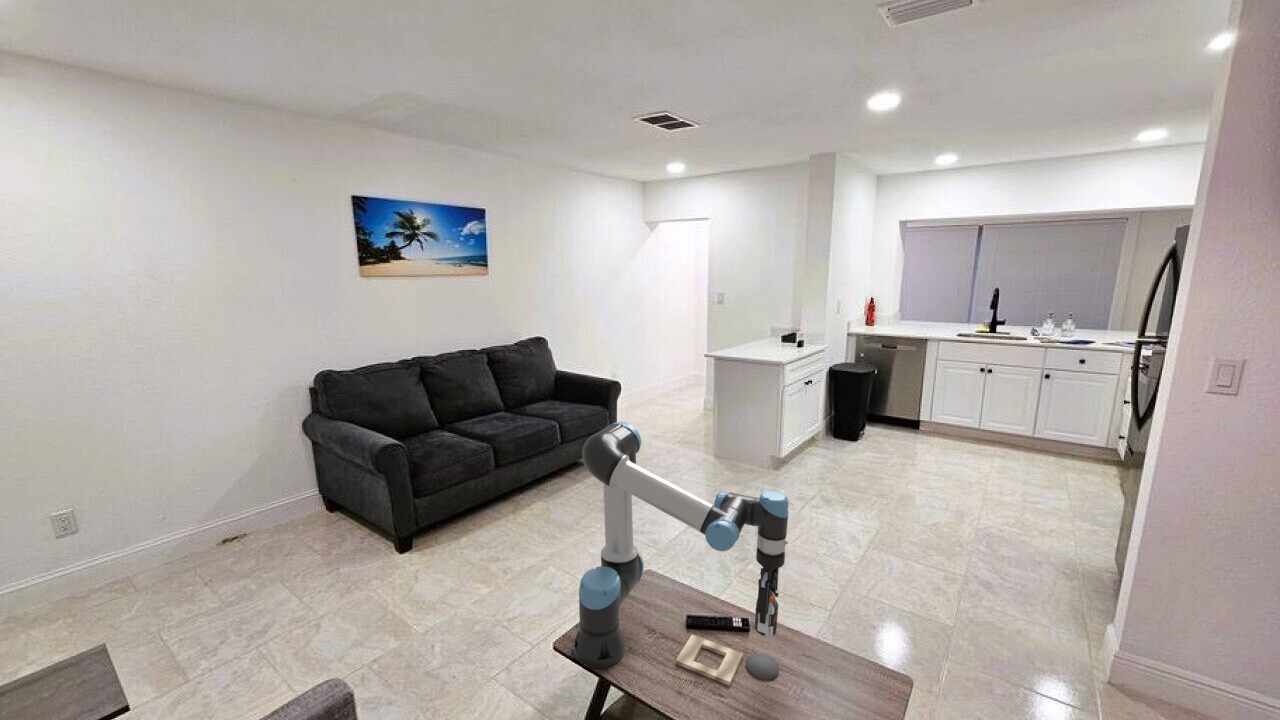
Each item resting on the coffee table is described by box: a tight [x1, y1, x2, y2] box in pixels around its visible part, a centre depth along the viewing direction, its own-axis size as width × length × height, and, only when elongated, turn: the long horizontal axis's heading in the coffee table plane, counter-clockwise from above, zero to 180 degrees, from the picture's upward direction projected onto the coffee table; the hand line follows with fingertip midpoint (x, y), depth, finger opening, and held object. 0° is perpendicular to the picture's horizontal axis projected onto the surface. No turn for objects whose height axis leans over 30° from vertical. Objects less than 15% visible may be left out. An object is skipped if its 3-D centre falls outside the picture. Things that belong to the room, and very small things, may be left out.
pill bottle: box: [754, 591, 779, 638], centre depth 144 cm, size 6×6×11 cm
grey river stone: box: [745, 652, 780, 681], centre depth 147 cm, size 9×9×1 cm
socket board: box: [675, 634, 744, 687], centre depth 149 cm, size 16×12×1 cm
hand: (765, 624), depth 145 cm, fingers closed on pill bottle, 6 cm apart
